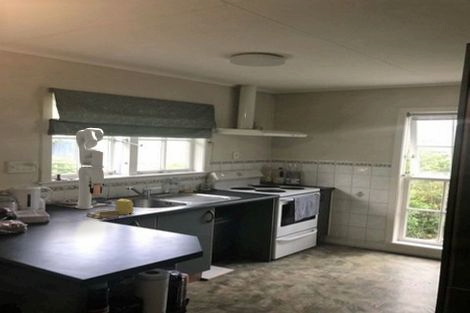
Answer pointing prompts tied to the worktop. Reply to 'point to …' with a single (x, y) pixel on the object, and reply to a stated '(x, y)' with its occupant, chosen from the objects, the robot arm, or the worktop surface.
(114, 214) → the lane
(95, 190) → the jar
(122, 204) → the yellow rounded block
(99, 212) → the pusher
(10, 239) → the worktop surface
